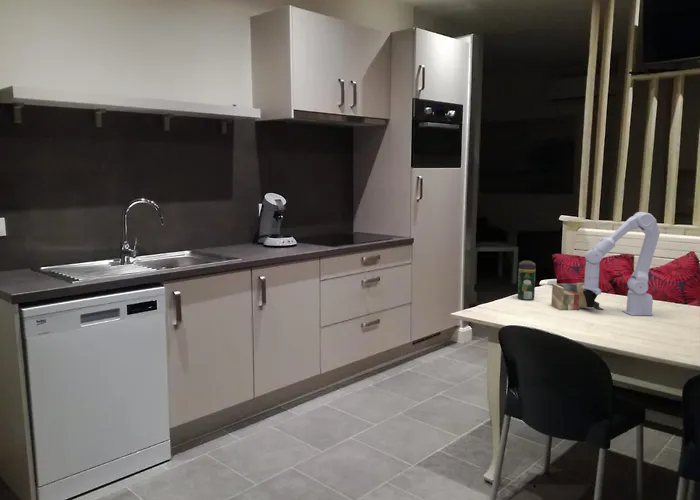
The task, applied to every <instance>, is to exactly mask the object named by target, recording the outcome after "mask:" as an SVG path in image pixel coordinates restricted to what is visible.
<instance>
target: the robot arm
mask: <svg viewBox="0 0 700 500" xmlns="http://www.w3.org/2000/svg"><path fill="white" fill-rule="evenodd" d="M637 229H641V231H642V232H643V234H644V235H645V236H644V239H643V242H642V246H641V249H640V251H639V252H640V253H639V256H638V260H637V262H636V266H635V269H634V271H633V272H632V274H631V276H630V278H628V280H627V282H626V285H627V288H628V290H627V299H626V309H622V312H624V313H626V314H628V315H630V316H653V303H654V300H653V295H652V294H650V293H647V292H648V290H649V271H650V268H651V264H652V261H653V258H654V254H655V251H656V249H657V248H656V247H657V244H658V241H659V238H660V229H659V226H658V223H657V219H656V218H655V216H654V215H652V213H649V212H644V211H637V212H635V213H634V214H633V216H630V217H628V219H627V220H626V221H625V222H623V223H622V224H621V225H620V226H619V227H618V228H617V229H616V230H615V231H614V232H613V233H612V234H611V235H610V236H604V237H601V238H600V239H599V241H598V243H597V244H595V245H594V246H592V247H591V249H589V250H587V251H586V252H585V255H584V258H585V267H584V279H583V280H584V282H583V283H584V285H583V286H581V288H583V289H587V290H586V291H583V293H584V295H585V298H586V303H587V307H586V308H593V304H594V301H595V300H596V299H597V296H599V295H601V294H602V289H600V287H599V282H600V281H599V279H600V264H601V263H600V262H601V261H602V259H603V257H605V256H606V255H607V254H608V253H610V252H611V250H613V249H614V248H615V247H616V242H618V241H619V240H620V239H621V238H622V237H624V236H625V235H626V234H627V233H628V232H631V231H632V230H637Z"/></svg>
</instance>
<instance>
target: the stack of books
mask: <svg viewBox="0 0 700 500" xmlns="http://www.w3.org/2000/svg"><path fill="white" fill-rule="evenodd" d="M551 289H552V290H551V303H550V304H551V305H550V306H552V307H553V308H555V309H557V310H559V311H579V308H580V307H579V294H578V293H577V283H552V287H551ZM592 308H594V309H595V310H597V311H603V310H604V308H602V307H601V306H600V303H599V302H597V301H594V304H593V307H592Z"/></svg>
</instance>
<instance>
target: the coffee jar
mask: <svg viewBox="0 0 700 500" xmlns="http://www.w3.org/2000/svg"><path fill="white" fill-rule="evenodd" d="M536 266H537V265H536V263H535V262H534V261H532V260H522V261H520V262H519V263H518V271H517V272H518V275H517V298H518V299H519V300H524V301H533V300H534V299H535V289H536V286H535V285H536Z"/></svg>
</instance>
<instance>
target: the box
mask: <svg viewBox="0 0 700 500" xmlns="http://www.w3.org/2000/svg"><path fill="white" fill-rule="evenodd" d="M576 284H577V293H578V294H579V308H588V307H587V303H586V298H585V295H584V293H583V291H586V290H587V289H583V288H581V286H583V285H584V282H576Z"/></svg>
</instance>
